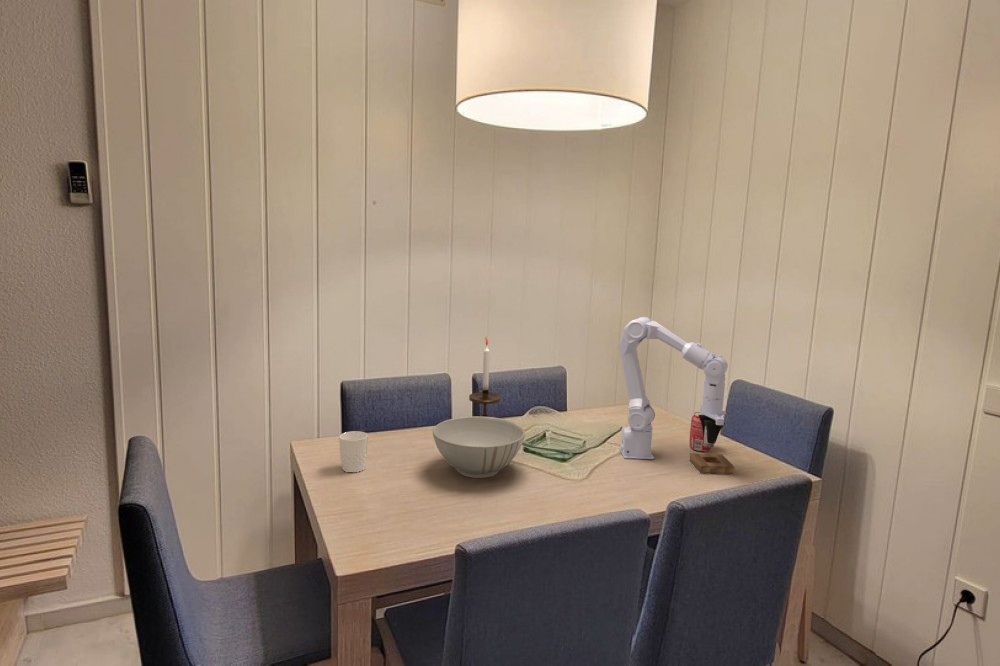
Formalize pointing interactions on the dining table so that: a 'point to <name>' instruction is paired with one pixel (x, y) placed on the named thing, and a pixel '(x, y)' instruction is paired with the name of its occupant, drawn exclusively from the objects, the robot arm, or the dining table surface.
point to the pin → (706, 444)
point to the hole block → (711, 463)
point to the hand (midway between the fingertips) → (709, 440)
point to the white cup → (353, 451)
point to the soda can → (697, 434)
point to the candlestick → (485, 387)
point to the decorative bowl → (478, 444)
